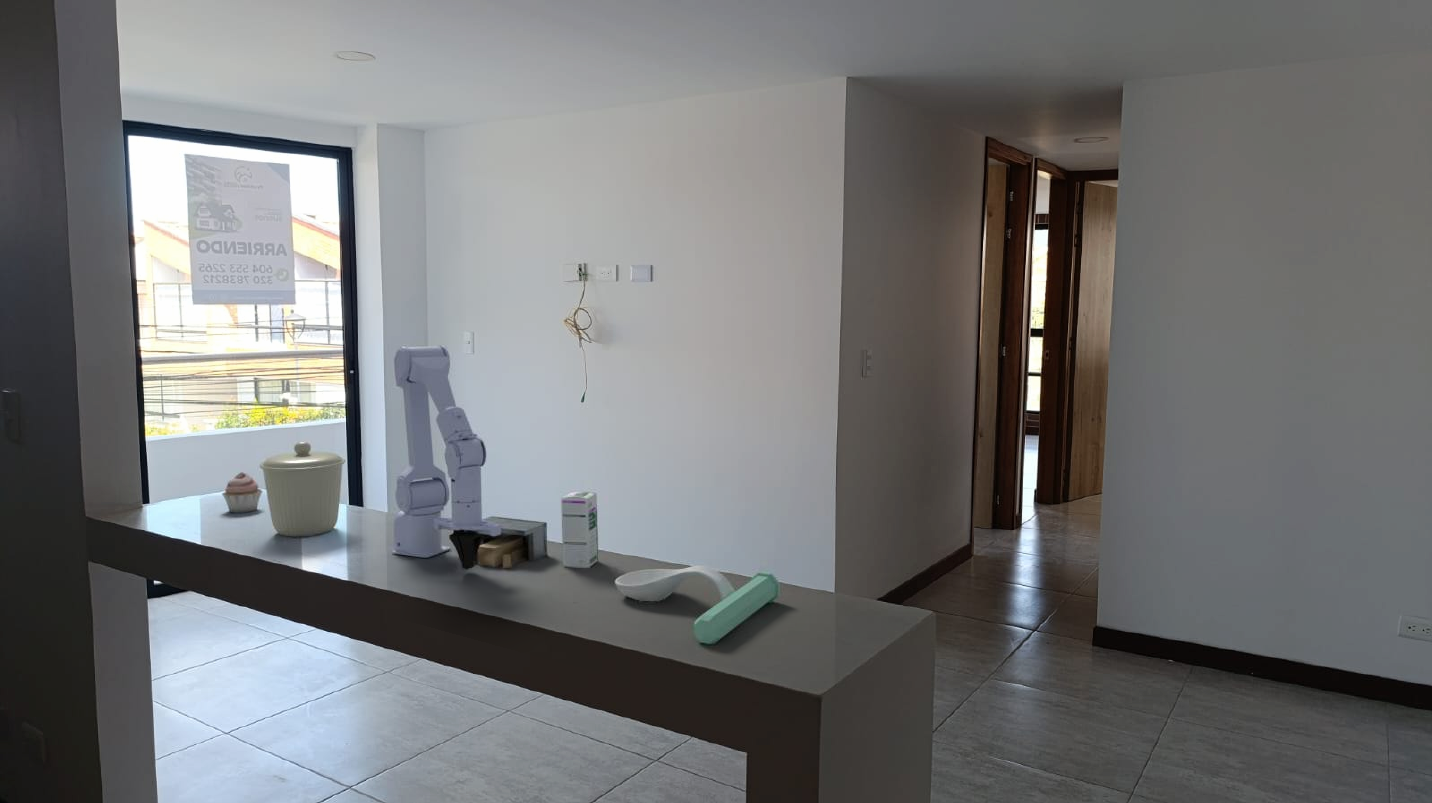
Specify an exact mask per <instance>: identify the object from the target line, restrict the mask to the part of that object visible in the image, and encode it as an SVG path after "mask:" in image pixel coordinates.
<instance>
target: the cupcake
mask: <svg viewBox="0 0 1432 803" xmlns="http://www.w3.org/2000/svg"><path fill="white" fill-rule="evenodd" d="M226 484H227V486H226V488H225V491H224V492H222V493H221V495H222V496H223V498H224V500H225V503H226V505H227V507H228V508H227V509H228V511H229V512H230V513H234V514H243V513H250V512H254V511H256V510H257V509H258V505H259V502H260V498H261V495H262V493H263V490H261V488H259V485H258V483H257V482H256V481H255V480H254V478H253V477H252V476H251V475H250V474H248V473H246V472H244V471H241V472H239V473H237V475H236V476H234V477H233V479H230V480H228V481H227V483H226Z"/></svg>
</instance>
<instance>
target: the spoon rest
mask: <svg viewBox="0 0 1432 803" xmlns="http://www.w3.org/2000/svg"><path fill="white" fill-rule="evenodd" d="M692 577H700V578H702V579H705V580H707V581H708V582H710V584H712V585H713V586H714V587H715V589H716V590H717V592H718V595H719V598H720V599H719V600H720V602H721V601H723V600H724V599H726V598H727V597H728V596H730V595H731V594H733V593H734V592H736V590H735V589H734V587H733V585H732V584H731V582H730V581H729V580H728V579H727V578H726V577H725V576H724V575H723V574H722V573H720V572H718V571H717V570H715V569H714V568H711V567H709V566H705V565H695V566H689V567H686V568H681V569H680V568H679V569H669V568H667V569H666V568H665V569H664V568H653V569H642V570H641V569H640V570H636V571H631V572H628V573H624V574H622V575H620V576H619V577H617V578H616V579H615V580H614V584H615V586H616V587H617V589H618V590H619V591H620V592H621V593H622V594H623V595H625V596H626V597H628V598H631V599H633V600H635V601H637V600H639V601H638V602H642V601H652V602H651V603H654V602H653V601H657V602H661V601H660V600H662V601H663V599H664V600H666V599H667V598H668V597H670V595H672V594H673V593H674V592H675V591H676V590H678V588H679V587H680V586H681V585H682V584H683V583H684V582H685V581H686V580H688V579H690V578H692ZM665 598H666V599H665Z"/></svg>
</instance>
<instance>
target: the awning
mask: <svg viewBox="0 0 1432 803" xmlns="http://www.w3.org/2000/svg"><path fill="white" fill-rule="evenodd" d="M482 520H483V521H487V522H490V523H494V524H500V525H501V534H500V535H497V536H491V535H488V534H485V536H484V538H483V540H482V542H481V544H480V545H483V544H485V543H488V542H491V541H493V540H496V539H499V538H501V537H504V536H507V535H509V536H517V537H523V545H522V546H520V547H517V548H515V549H512V550H510V551H507V552H505V553H504V555H503V563H502V569H512V567H513V565H514V564H517V563H519V562H521V561H524V560H526V559H528V561H532V562H534V561H537V560H539V559H542V558H543V557H545V556H547V555H548V525H547V524H548V523H547V521H546V522H544V521H539V520H538V521H536V520H527V519H519V518H510V517H504V516H503V517H501V516H500V517H499V516H487V517H486V518H482ZM476 562H478V552H477V555H476V559H475V563H476Z"/></svg>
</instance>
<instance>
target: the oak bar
mask: <svg viewBox="0 0 1432 803" xmlns="http://www.w3.org/2000/svg"><path fill="white" fill-rule="evenodd" d="M522 545H523V537H517V536H509V535H507V536H504V537H501V538H499V539H496V540H493V541H491V542H488V543H485V544H483V545H480V546H479V549H478V561H477V565H479V564H482V565H481V566H486V565H488V566H487V567H497V566H499V565H503V555H504V553H505V552H507V551H510V550H512V549H515V548H517V547H520V546H522Z"/></svg>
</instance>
